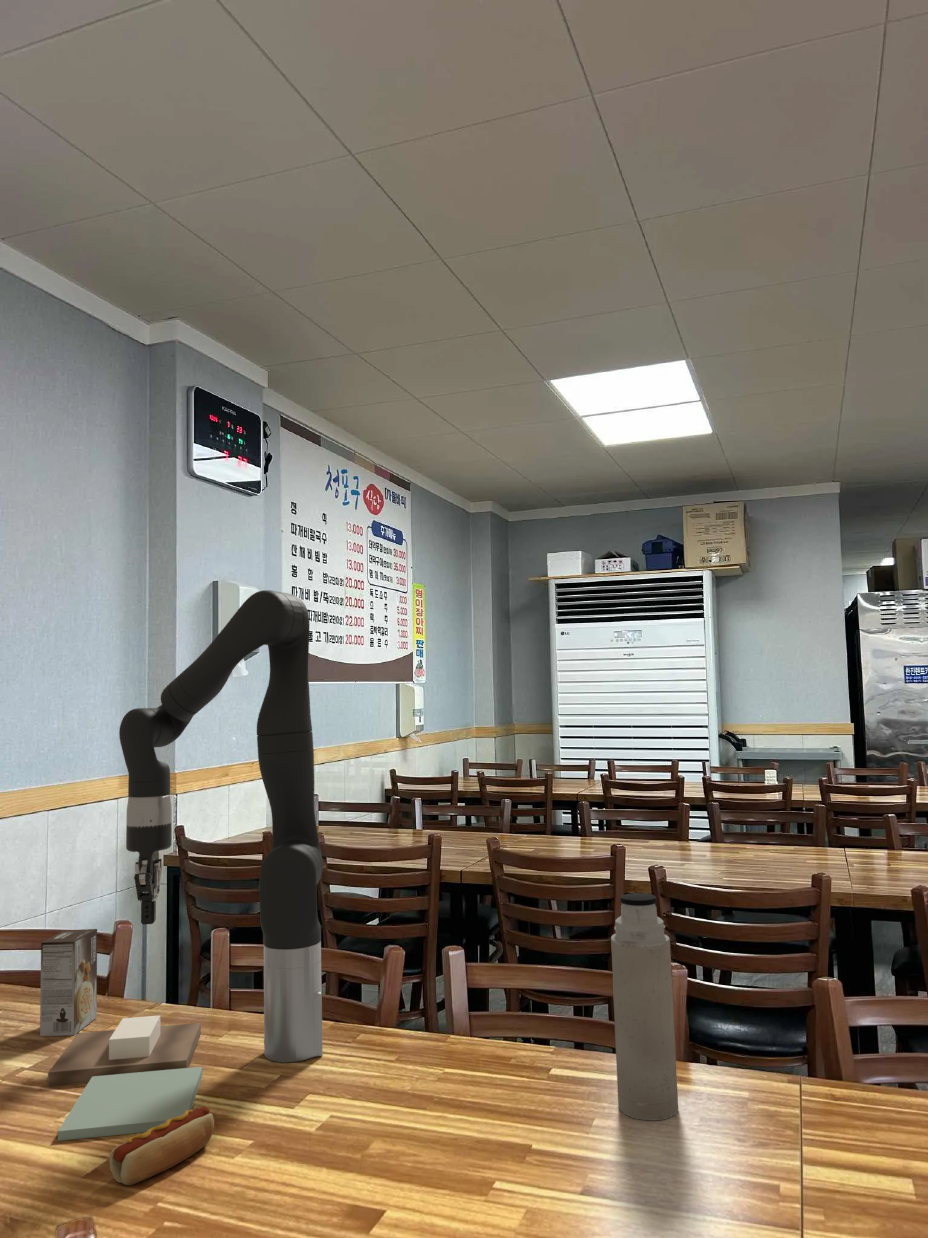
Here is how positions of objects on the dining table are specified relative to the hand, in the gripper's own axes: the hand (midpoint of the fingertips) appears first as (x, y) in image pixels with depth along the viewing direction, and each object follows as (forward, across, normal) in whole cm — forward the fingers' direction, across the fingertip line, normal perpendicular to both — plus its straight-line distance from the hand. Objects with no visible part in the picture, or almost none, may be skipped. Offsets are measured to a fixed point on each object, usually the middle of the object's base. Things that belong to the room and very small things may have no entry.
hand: (148, 923), depth 156 cm
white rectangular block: (+17, -10, 0) cm, 20 cm away
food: (+19, -47, -10) cm, 52 cm away
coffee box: (+19, +8, +15) cm, 26 cm away
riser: (+19, -10, +1) cm, 21 cm away
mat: (+19, -28, -4) cm, 34 cm away
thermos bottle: (+19, -46, -73) cm, 88 cm away
